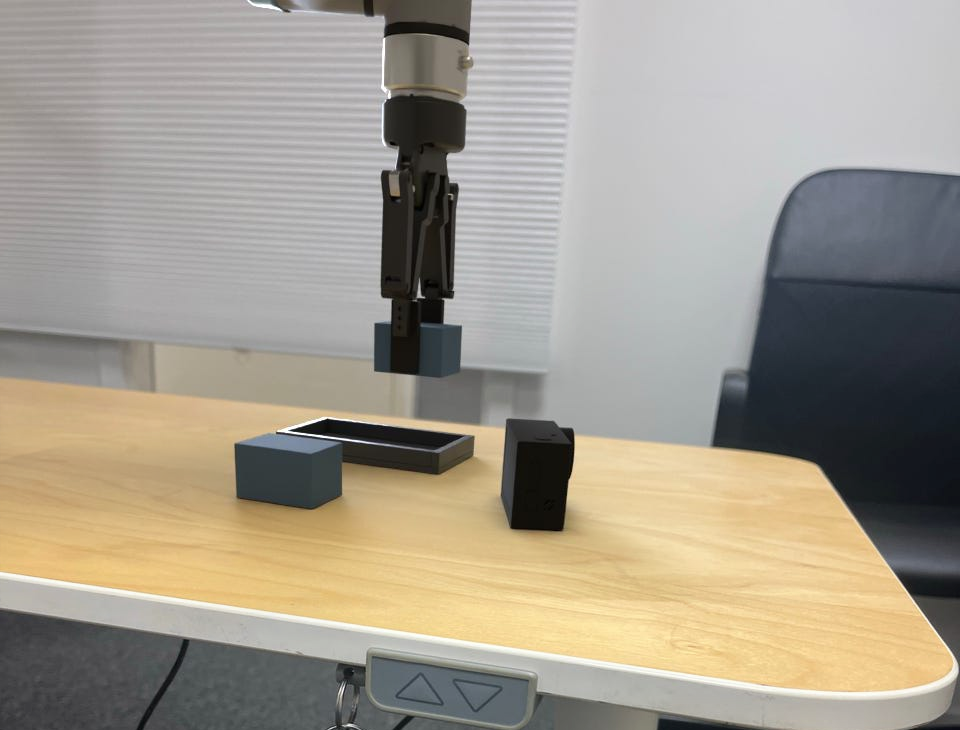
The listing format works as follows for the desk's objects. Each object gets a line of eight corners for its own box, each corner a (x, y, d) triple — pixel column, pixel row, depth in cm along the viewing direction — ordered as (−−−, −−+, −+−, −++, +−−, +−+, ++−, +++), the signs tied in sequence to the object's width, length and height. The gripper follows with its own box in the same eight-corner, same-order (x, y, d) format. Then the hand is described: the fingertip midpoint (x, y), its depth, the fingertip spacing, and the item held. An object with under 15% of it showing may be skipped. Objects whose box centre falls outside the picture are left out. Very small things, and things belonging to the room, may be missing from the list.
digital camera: (578, 532, 73) (588, 443, 70) (510, 529, 72) (517, 440, 70) (560, 499, 82) (568, 420, 80) (500, 496, 82) (506, 416, 79)
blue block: (373, 371, 89) (374, 322, 88) (396, 366, 94) (396, 320, 92) (441, 378, 87) (442, 328, 86) (460, 372, 92) (462, 325, 91)
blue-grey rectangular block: (236, 497, 76) (233, 443, 74) (270, 484, 81) (268, 432, 79) (312, 509, 74) (311, 453, 72) (342, 495, 79) (342, 442, 77)
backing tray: (275, 452, 93) (275, 431, 92) (324, 435, 102) (324, 416, 102) (438, 474, 88) (439, 452, 88) (473, 455, 98) (474, 435, 97)
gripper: (426, 81, 73) (416, 383, 82) (496, 116, 89) (481, 364, 98) (340, 80, 75) (340, 375, 84) (424, 114, 91) (416, 358, 100)
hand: (416, 369), depth 91 cm, fingers closed on blue block, 5 cm apart
